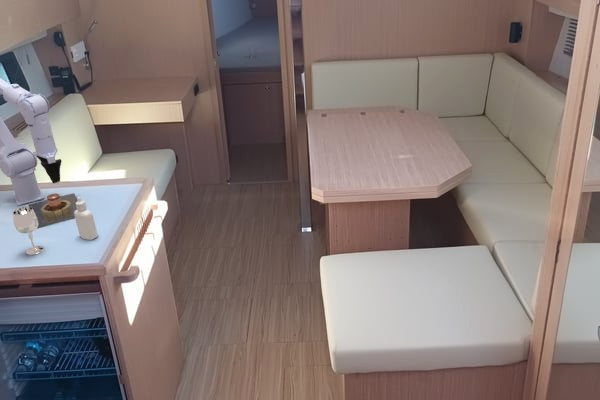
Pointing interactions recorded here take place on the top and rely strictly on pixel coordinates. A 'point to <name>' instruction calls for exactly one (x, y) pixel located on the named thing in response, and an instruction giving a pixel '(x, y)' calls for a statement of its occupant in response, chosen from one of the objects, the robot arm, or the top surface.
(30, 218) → the wineglass
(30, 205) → the collar plate
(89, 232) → the eye dropper bottle
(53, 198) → the round knob
